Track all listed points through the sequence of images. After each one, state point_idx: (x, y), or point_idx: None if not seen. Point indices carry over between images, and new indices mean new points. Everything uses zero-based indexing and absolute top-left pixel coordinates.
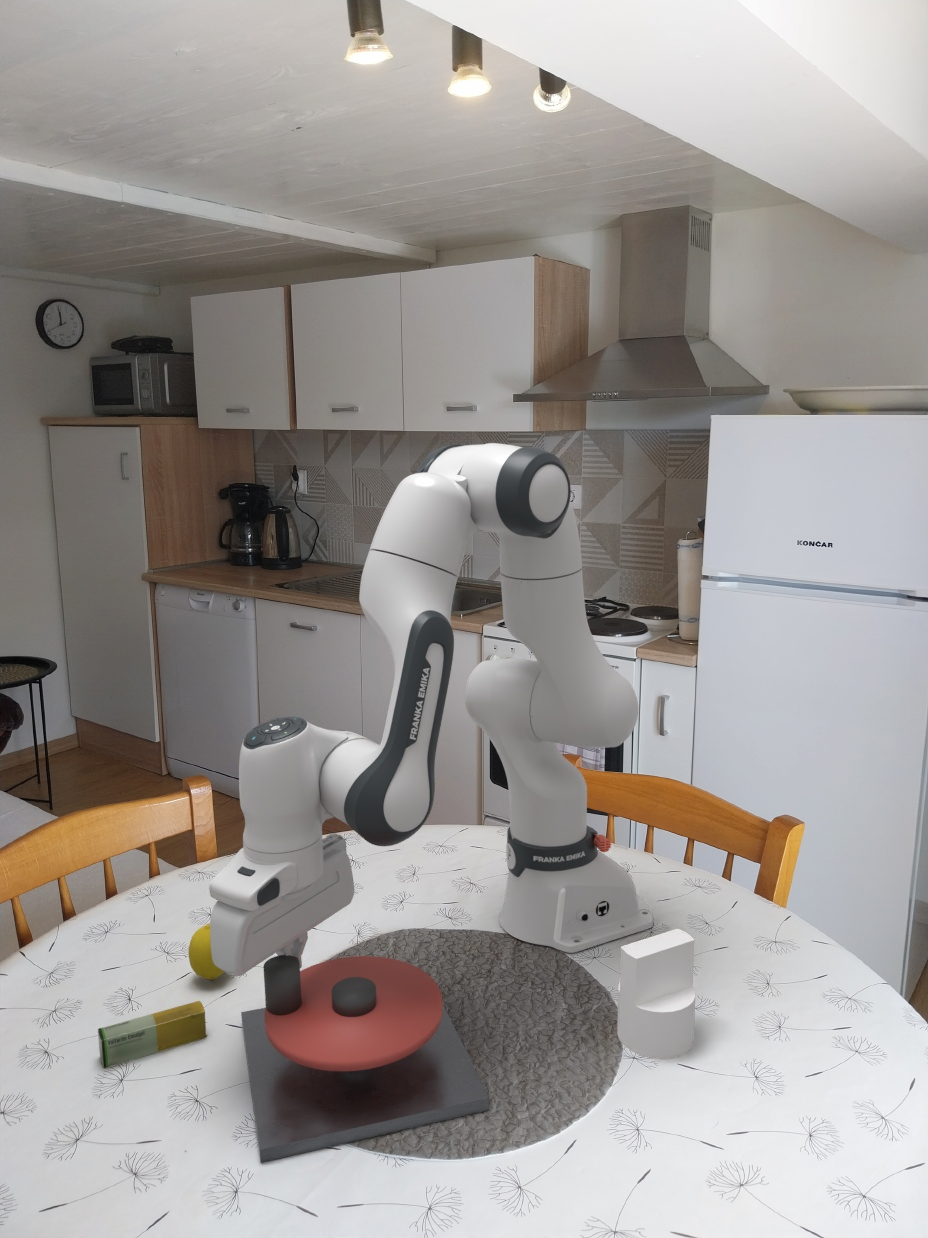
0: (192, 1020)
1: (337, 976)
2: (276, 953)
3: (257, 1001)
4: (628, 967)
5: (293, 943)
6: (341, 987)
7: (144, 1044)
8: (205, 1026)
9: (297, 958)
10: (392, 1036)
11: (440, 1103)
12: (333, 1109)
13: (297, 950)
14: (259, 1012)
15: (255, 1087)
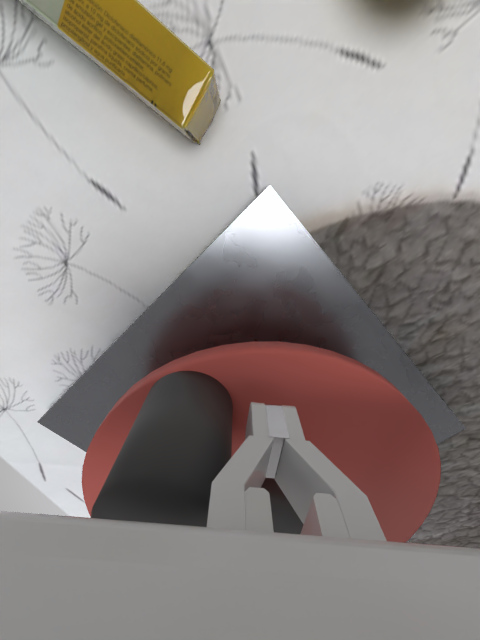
0: (157, 110)
1: (340, 442)
2: (233, 457)
3: (346, 163)
4: None
5: (311, 492)
6: None
7: (54, 29)
8: (194, 136)
9: (274, 476)
10: None
11: None
12: None
13: (291, 494)
14: (284, 225)
15: (114, 351)
